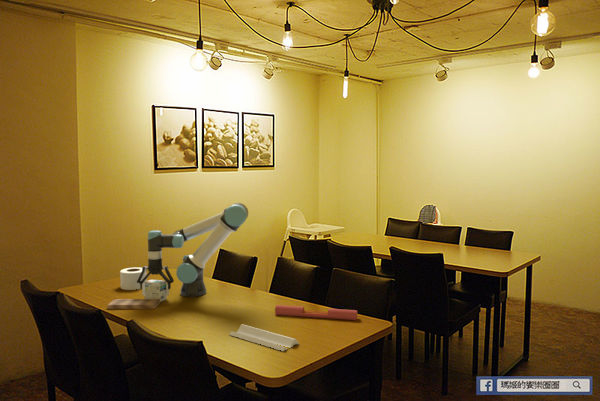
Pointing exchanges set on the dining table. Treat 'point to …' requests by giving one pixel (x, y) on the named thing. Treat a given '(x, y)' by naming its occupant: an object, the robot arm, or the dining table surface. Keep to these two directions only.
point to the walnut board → (134, 304)
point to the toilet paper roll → (131, 278)
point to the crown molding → (264, 337)
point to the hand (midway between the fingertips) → (155, 294)
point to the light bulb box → (155, 289)
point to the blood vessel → (316, 313)
